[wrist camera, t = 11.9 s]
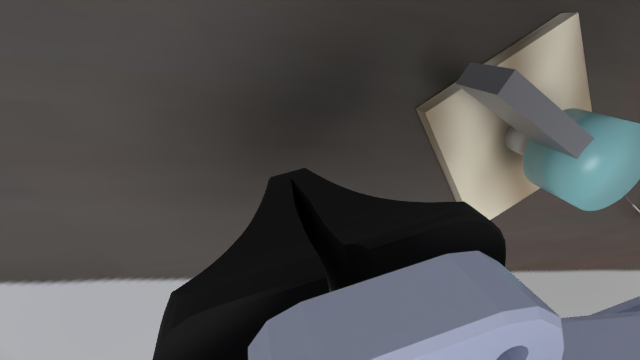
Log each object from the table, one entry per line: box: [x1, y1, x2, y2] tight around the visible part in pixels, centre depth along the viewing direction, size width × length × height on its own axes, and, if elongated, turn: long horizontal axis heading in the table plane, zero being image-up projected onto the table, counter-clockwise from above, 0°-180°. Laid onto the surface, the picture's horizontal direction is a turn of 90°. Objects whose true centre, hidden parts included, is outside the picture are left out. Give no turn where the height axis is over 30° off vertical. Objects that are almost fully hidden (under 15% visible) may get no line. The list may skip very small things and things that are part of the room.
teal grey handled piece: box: [456, 62, 640, 211], centre depth 18 cm, size 12×5×3 cm, turn 59°
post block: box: [416, 13, 592, 220], centre depth 22 cm, size 11×11×4 cm
